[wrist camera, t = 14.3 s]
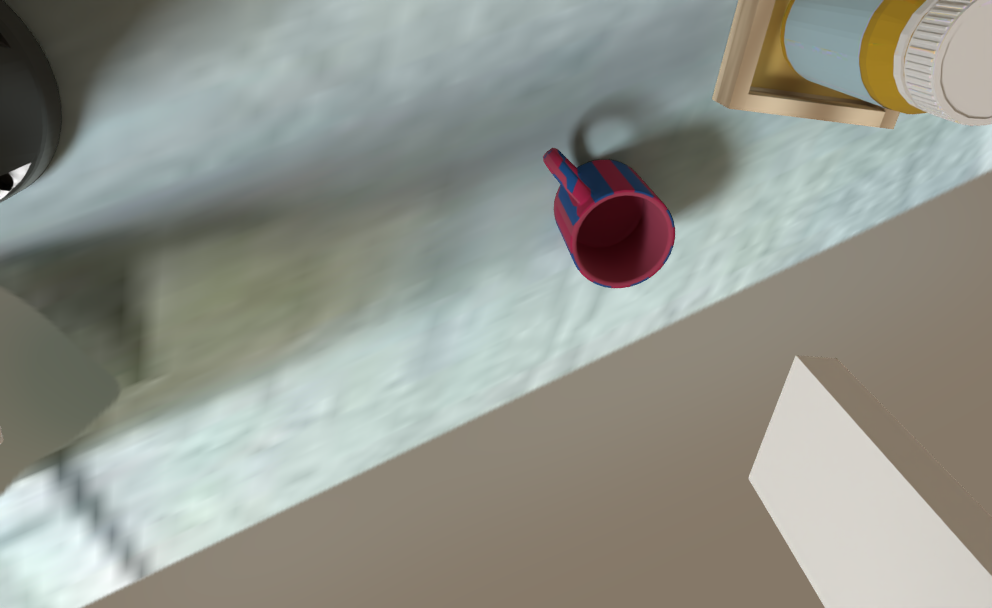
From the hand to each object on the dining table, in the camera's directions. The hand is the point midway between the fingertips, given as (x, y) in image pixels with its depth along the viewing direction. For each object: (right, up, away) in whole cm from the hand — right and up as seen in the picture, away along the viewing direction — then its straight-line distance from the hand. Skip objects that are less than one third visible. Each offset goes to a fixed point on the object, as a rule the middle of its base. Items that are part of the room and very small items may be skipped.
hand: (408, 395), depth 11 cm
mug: (+8, +10, +37) cm, 40 cm away
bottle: (+23, +19, +33) cm, 44 cm away
